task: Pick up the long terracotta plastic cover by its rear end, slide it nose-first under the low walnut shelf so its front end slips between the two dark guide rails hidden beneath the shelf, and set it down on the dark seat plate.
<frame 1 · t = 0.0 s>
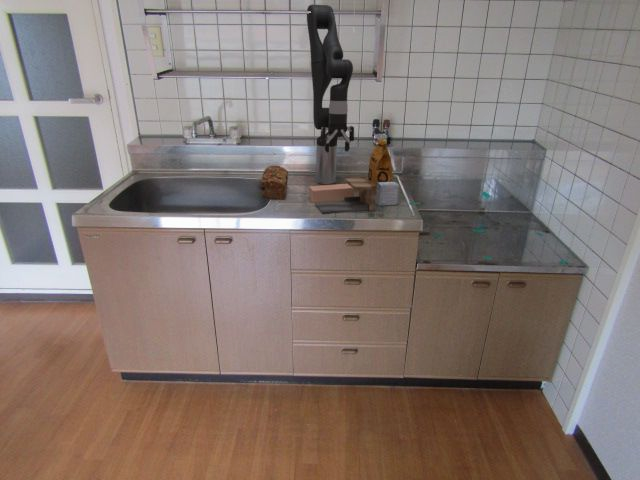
hand: (336, 151, 186), 17 cm above the countertop, tool pointing down, fingers open, 8 cm apart
shelf: (349, 206, 175), on the countertop
soap dispenser: (380, 183, 206), on the countertop
cover: (331, 198, 183), on the countertop
medicine box: (386, 204, 180), on the countertop
coffee package: (378, 191, 195), on the countertop
bread: (275, 193, 189), on the countertop
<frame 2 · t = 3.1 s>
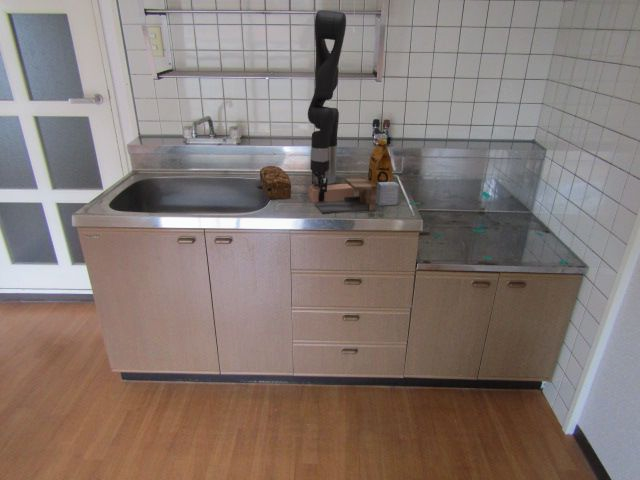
hand: (318, 198, 181), 1 cm above the countertop, tool pointing down, fingers closed on cover, 6 cm apart
cover: (331, 198, 183), on the countertop, touching gripper
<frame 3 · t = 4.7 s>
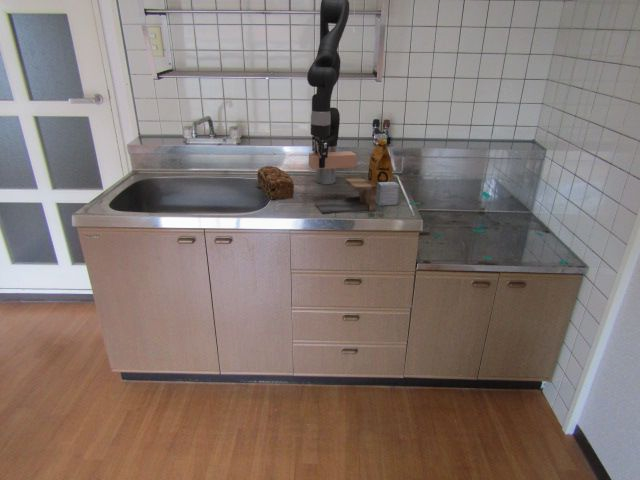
hand: (319, 165, 175), 14 cm above the countertop, tool pointing down, fingers closed on cover, 6 cm apart
cover: (332, 166, 177), point 14 cm above the countertop, touching gripper
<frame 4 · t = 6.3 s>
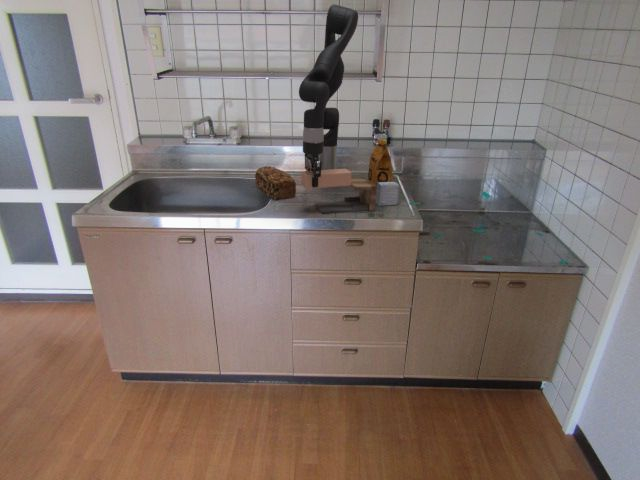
hand: (312, 184, 166), 11 cm above the countertop, tool pointing down, fingers closed on cover, 6 cm apart
cover: (326, 184, 168), point 10 cm above the countertop, touching gripper
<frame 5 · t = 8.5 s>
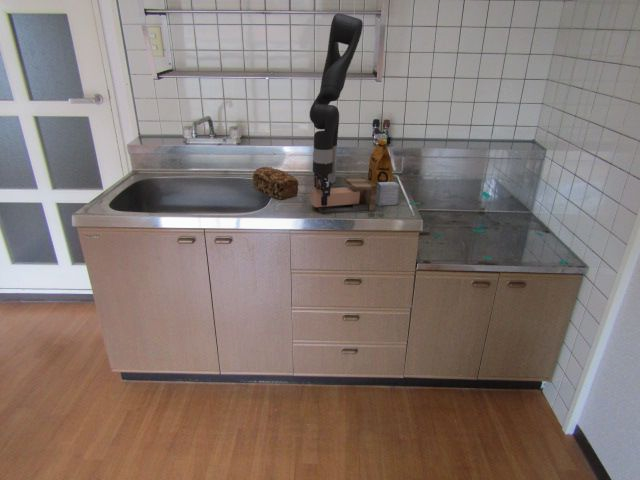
hand: (321, 202, 171), 3 cm above the countertop, tool pointing down, fingers closed on cover, 6 cm apart
cover: (334, 202, 172), point 2 cm above the countertop, touching gripper
when the fingers open (2 cm above the countertop, at t = 10.0 s): cover stays where it is, resting on shelf.
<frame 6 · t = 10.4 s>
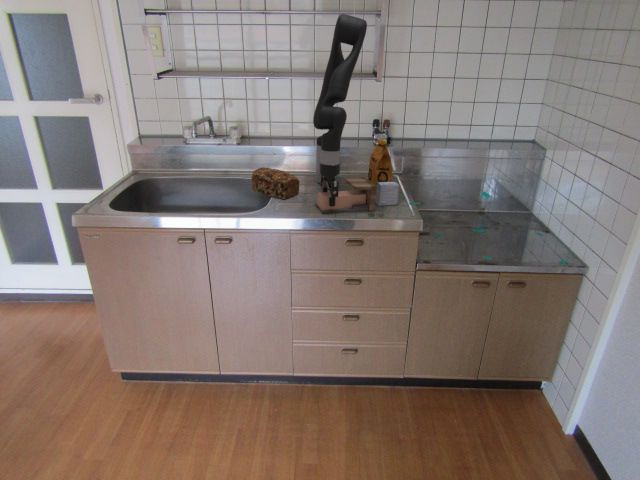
hand: (328, 202, 171), 3 cm above the countertop, tool pointing down, fingers open, 8 cm apart
cover: (341, 205, 174), point 1 cm above the countertop, touching shelf
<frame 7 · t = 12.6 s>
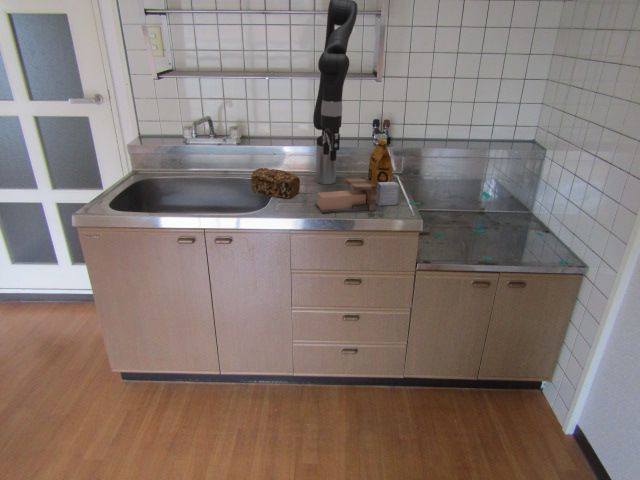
hand: (329, 157, 166), 20 cm above the countertop, tool pointing down, fingers open, 8 cm apart
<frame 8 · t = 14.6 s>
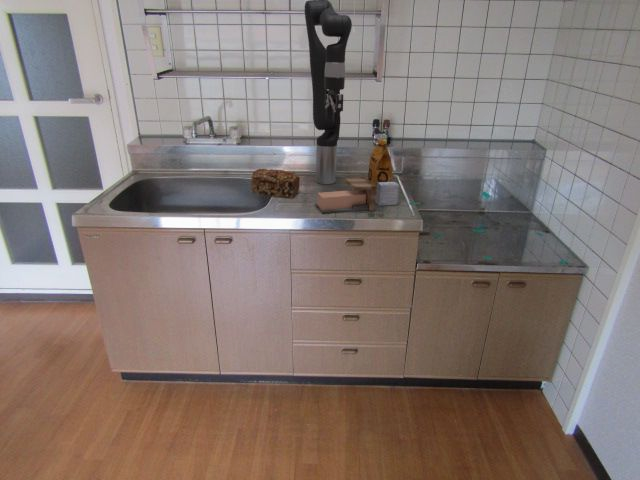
hand: (332, 120, 169), 32 cm above the countertop, tool pointing down, fingers open, 8 cm apart
at the end: cover 0.1 cm from the target spot on the shelf, point 0.8 cm above the shelf's base; cover tilted 0°; the gripper is holding nothing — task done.
